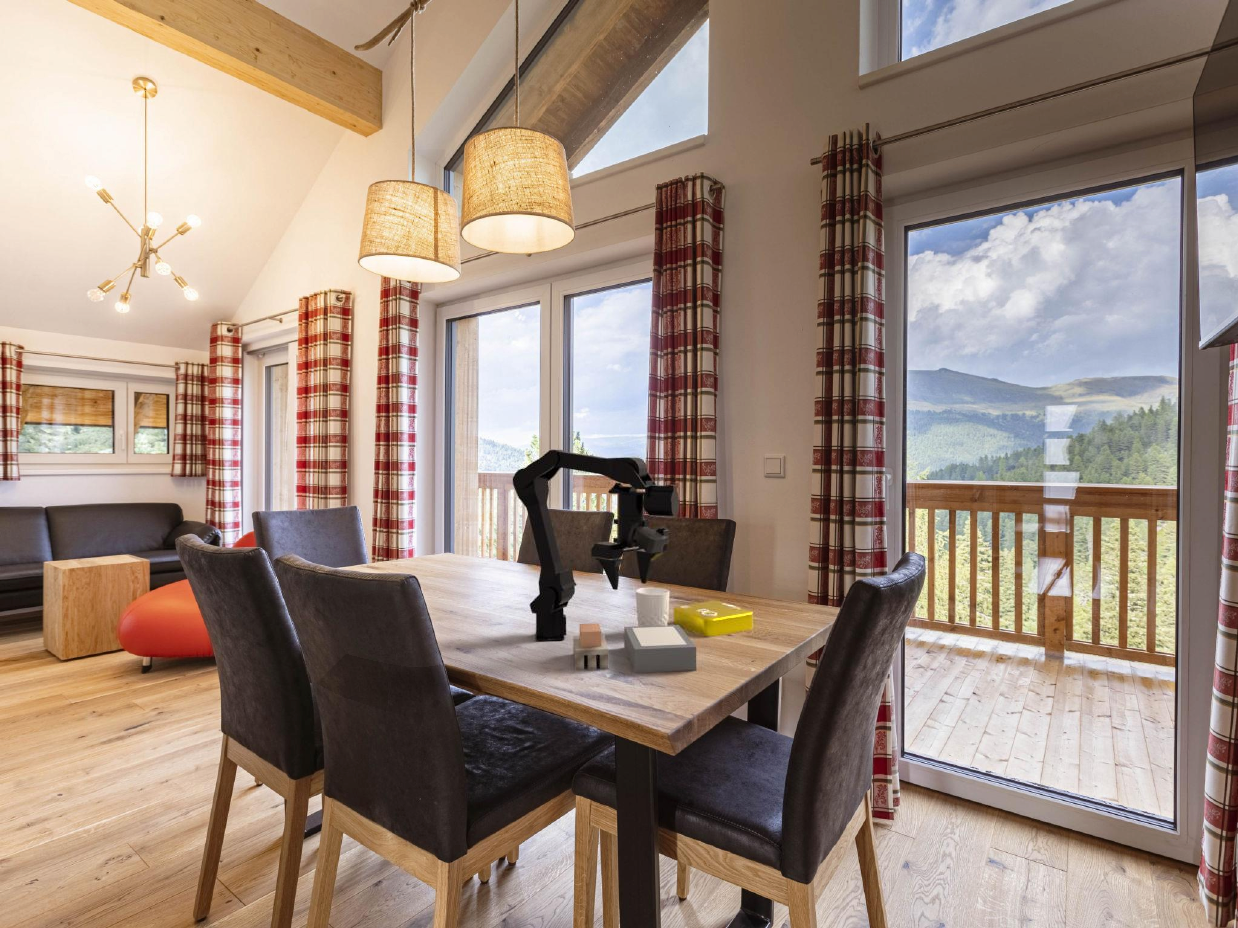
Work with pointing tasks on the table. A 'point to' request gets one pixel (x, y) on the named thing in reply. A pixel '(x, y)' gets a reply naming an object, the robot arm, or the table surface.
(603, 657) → the grey slotted block
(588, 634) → the orange block
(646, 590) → the white cup
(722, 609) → the element tile
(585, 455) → the robot arm
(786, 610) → the table surface
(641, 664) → the dock
